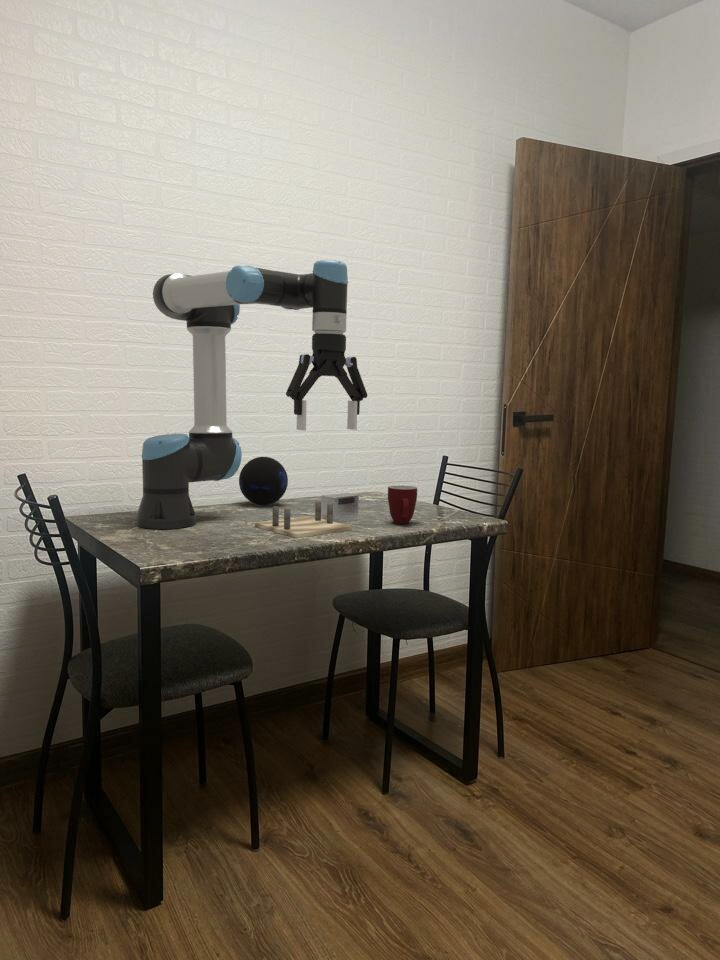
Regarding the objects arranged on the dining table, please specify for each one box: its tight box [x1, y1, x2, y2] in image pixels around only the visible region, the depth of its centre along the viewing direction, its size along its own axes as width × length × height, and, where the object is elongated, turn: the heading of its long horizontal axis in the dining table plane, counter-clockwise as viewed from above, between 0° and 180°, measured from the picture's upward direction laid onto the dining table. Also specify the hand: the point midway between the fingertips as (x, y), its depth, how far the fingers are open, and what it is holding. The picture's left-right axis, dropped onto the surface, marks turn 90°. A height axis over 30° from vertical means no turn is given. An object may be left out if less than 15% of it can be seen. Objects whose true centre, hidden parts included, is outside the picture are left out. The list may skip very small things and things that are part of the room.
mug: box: [387, 484, 418, 525], centre depth 200 cm, size 10×8×10 cm
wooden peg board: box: [254, 501, 353, 539], centre depth 191 cm, size 18×18×6 cm
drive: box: [320, 492, 360, 523], centre depth 205 cm, size 6×9×7 cm, turn 132°
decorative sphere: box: [238, 456, 289, 506], centre depth 226 cm, size 15×15×15 cm
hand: (327, 429), depth 164 cm, fingers open, 13 cm apart
